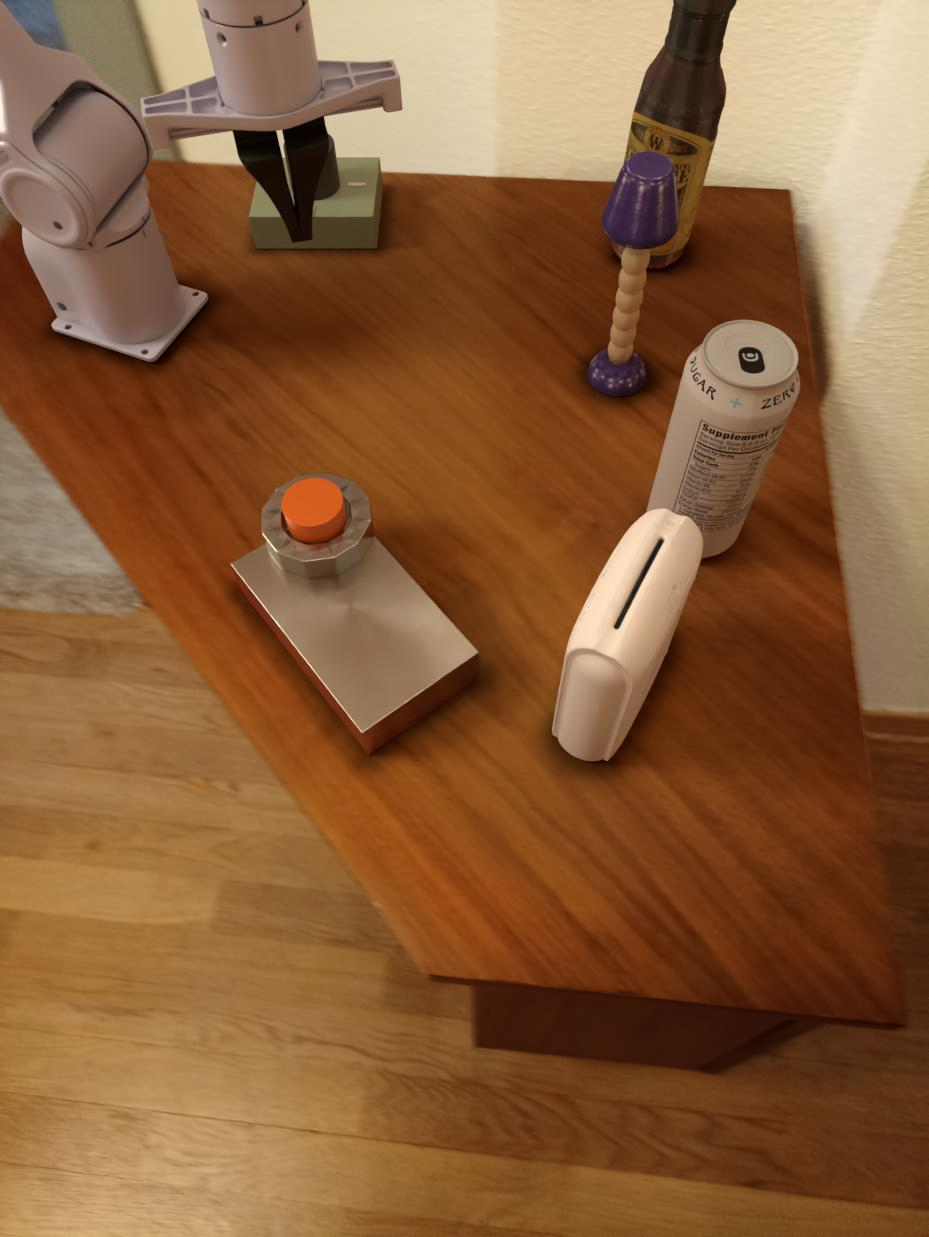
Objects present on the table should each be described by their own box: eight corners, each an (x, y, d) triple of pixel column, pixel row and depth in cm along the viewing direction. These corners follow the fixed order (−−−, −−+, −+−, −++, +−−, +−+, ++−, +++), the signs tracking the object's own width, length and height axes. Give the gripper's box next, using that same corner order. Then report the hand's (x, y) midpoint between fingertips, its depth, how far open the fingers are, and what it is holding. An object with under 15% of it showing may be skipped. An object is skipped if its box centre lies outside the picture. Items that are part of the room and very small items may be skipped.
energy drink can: (729, 492, 59) (798, 311, 46) (742, 566, 56) (821, 395, 43) (639, 492, 59) (683, 311, 46) (648, 566, 56) (698, 395, 43)
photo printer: (612, 606, 55) (644, 477, 44) (677, 634, 54) (726, 509, 43) (539, 742, 50) (556, 635, 40) (609, 776, 49) (644, 675, 39)
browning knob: (337, 200, 71) (330, 155, 68) (288, 200, 71) (279, 155, 68) (342, 170, 73) (335, 125, 70) (294, 170, 73) (285, 125, 70)
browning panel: (256, 249, 73) (247, 215, 70) (269, 189, 77) (261, 154, 74) (376, 249, 73) (373, 215, 70) (383, 189, 77) (379, 154, 74)
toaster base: (228, 574, 56) (207, 527, 52) (342, 506, 59) (331, 456, 55) (368, 755, 50) (357, 719, 46) (488, 670, 53) (489, 628, 48)
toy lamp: (641, 406, 63) (688, 191, 49) (576, 397, 64) (605, 182, 50) (647, 360, 66) (694, 141, 51) (585, 351, 66) (614, 133, 52)
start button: (275, 515, 53) (269, 497, 52) (325, 486, 54) (321, 467, 53) (307, 554, 52) (302, 536, 50) (358, 523, 53) (355, 505, 51)
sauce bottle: (594, 256, 72) (630, -20, 55) (632, 216, 74) (678, -60, 57) (666, 286, 70) (726, 9, 53) (702, 243, 73) (771, -34, 55)
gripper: (375, -54, 49) (396, 178, 60) (109, -17, 47) (183, 213, 59) (401, 8, 45) (418, 241, 57) (114, 50, 44) (192, 281, 55)
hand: (300, 232), depth 58 cm, fingers closed
